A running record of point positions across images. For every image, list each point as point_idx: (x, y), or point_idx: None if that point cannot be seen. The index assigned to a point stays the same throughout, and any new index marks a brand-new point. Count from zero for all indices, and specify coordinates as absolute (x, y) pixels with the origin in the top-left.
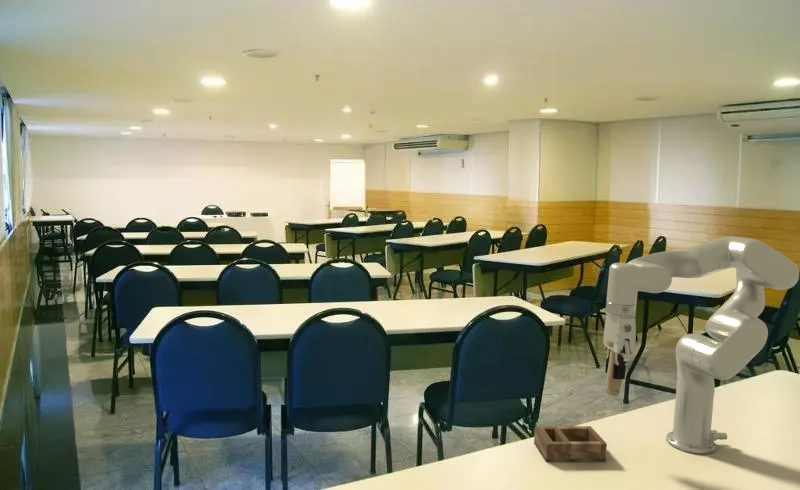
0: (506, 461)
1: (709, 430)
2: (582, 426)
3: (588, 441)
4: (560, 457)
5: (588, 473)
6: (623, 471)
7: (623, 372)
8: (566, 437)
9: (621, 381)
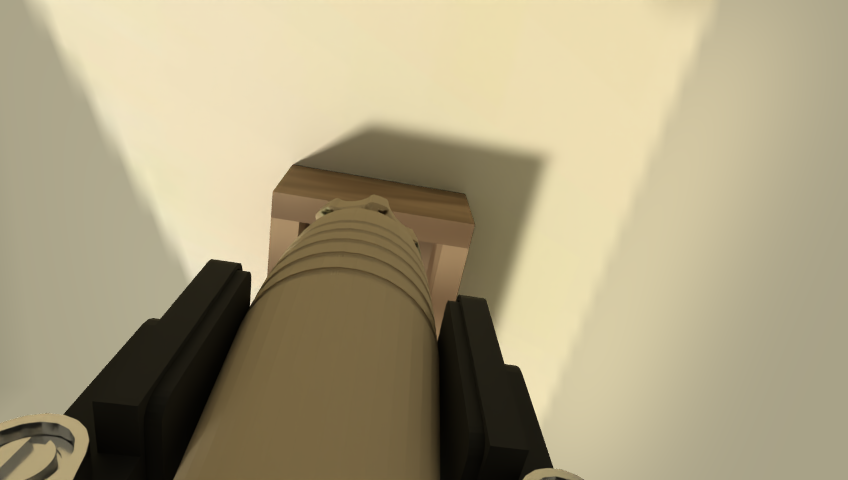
0: None
1: None
2: (272, 233)
3: (434, 288)
4: None
5: (523, 297)
6: (551, 169)
7: (531, 404)
8: None
9: (416, 266)
